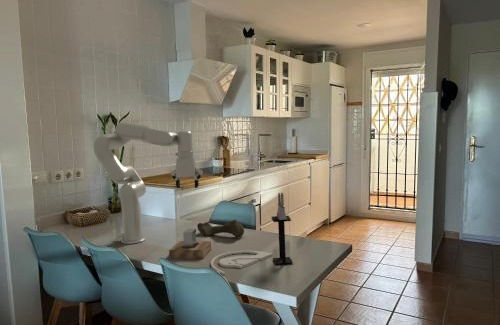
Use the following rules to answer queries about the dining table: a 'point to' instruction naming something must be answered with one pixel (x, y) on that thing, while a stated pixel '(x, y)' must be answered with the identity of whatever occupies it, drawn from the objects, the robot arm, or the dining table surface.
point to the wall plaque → (239, 259)
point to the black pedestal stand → (281, 232)
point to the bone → (222, 228)
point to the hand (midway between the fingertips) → (187, 187)
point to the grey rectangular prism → (189, 238)
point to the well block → (190, 250)
